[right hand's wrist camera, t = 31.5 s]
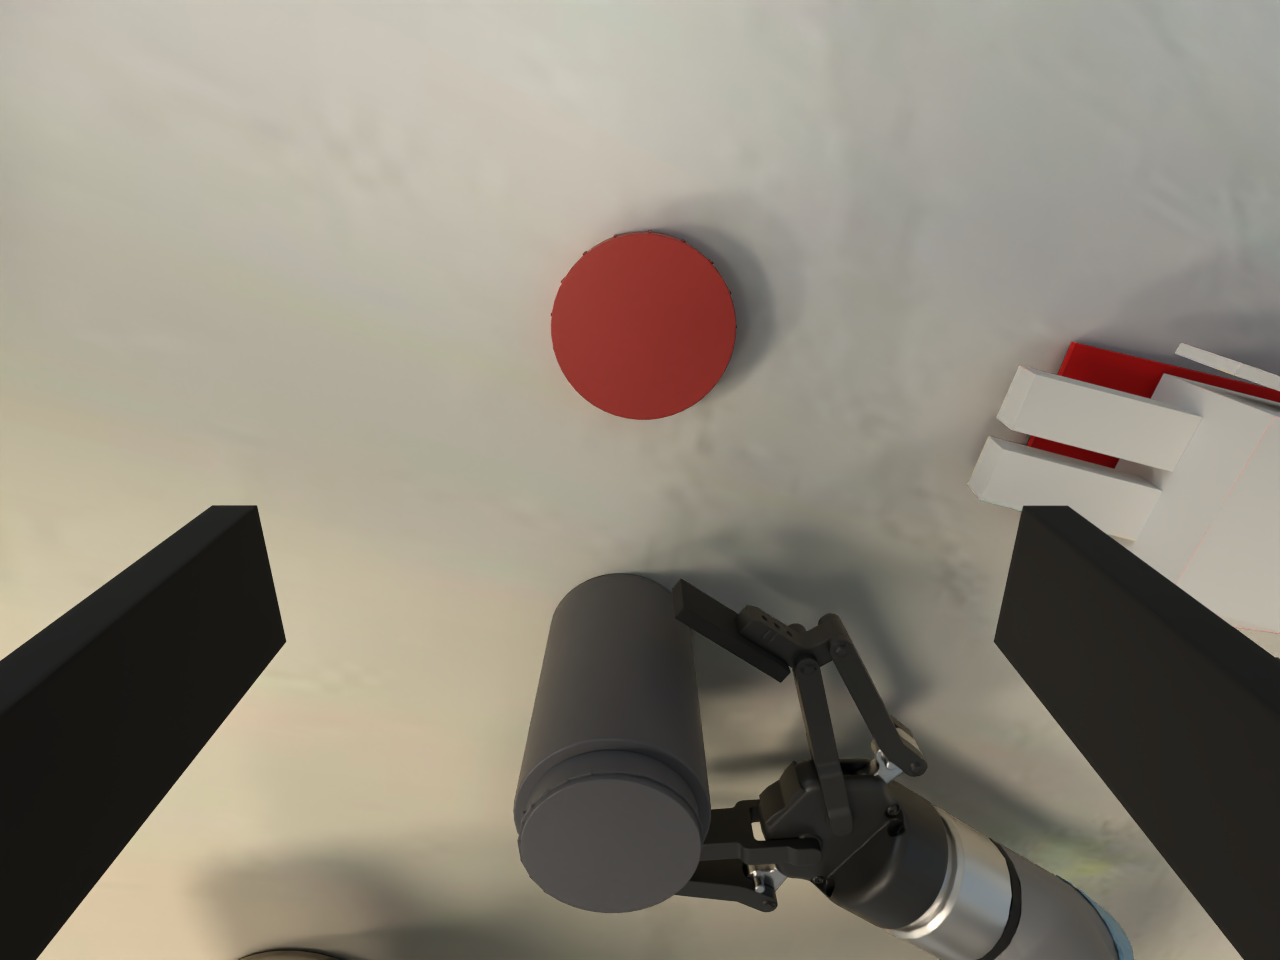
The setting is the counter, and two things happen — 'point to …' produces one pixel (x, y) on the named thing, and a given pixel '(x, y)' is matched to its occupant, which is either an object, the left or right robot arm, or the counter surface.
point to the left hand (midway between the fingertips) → (599, 690)
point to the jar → (614, 752)
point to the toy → (1155, 468)
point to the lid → (643, 325)
